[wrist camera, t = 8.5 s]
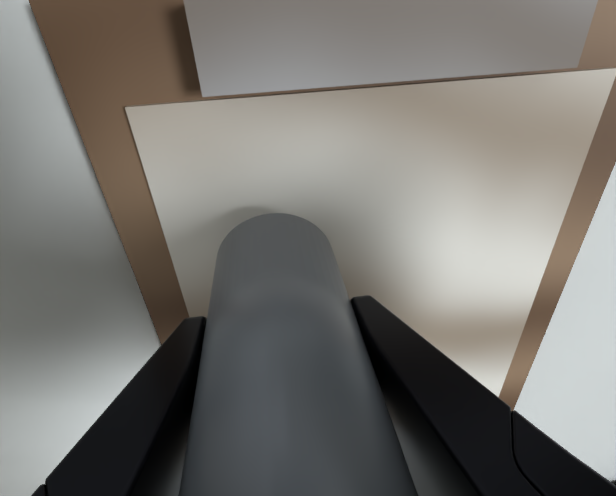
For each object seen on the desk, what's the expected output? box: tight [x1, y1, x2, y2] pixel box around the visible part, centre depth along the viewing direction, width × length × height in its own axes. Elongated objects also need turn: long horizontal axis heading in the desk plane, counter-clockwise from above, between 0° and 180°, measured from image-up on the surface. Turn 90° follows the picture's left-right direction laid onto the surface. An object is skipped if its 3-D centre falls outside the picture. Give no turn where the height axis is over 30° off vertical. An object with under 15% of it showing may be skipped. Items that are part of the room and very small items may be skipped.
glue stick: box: [179, 213, 418, 496], centre depth 5 cm, size 3×3×9 cm
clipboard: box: [29, 0, 616, 411], centre depth 12 cm, size 18×14×2 cm
